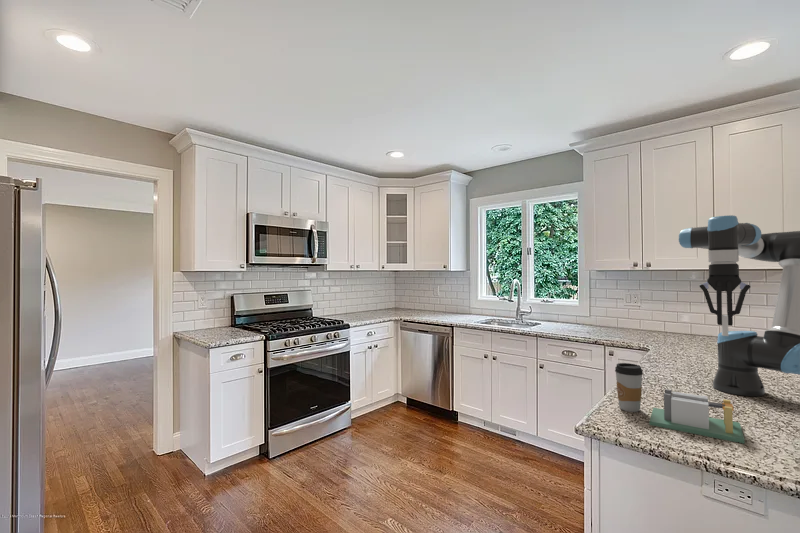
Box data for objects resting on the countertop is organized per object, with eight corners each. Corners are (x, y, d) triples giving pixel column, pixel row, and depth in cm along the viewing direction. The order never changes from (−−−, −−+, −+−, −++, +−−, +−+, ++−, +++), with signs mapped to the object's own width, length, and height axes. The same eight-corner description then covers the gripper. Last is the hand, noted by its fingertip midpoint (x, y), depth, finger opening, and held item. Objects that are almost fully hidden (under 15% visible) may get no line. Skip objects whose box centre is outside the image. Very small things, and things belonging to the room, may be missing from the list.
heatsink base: (649, 424, 118) (648, 395, 118) (653, 411, 129) (652, 384, 129) (744, 443, 105) (743, 410, 105) (739, 426, 116) (739, 396, 116)
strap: (665, 402, 120) (665, 398, 120) (666, 398, 123) (666, 395, 123) (733, 411, 110) (733, 407, 110) (732, 406, 113) (732, 403, 113)
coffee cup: (610, 405, 136) (609, 363, 136) (632, 404, 136) (631, 362, 136) (626, 414, 127) (625, 369, 127) (649, 412, 128) (648, 368, 128)
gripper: (749, 262, 123) (750, 335, 123) (698, 263, 131) (699, 331, 131) (751, 262, 117) (753, 339, 117) (698, 263, 125) (699, 335, 125)
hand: (725, 335), depth 124 cm, fingers closed
